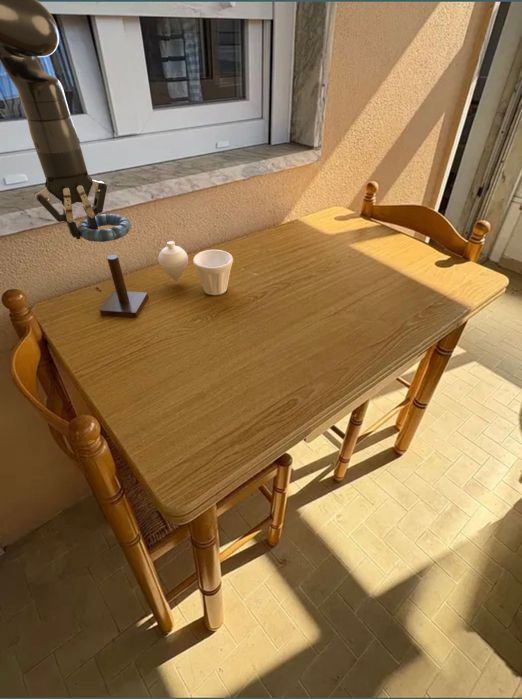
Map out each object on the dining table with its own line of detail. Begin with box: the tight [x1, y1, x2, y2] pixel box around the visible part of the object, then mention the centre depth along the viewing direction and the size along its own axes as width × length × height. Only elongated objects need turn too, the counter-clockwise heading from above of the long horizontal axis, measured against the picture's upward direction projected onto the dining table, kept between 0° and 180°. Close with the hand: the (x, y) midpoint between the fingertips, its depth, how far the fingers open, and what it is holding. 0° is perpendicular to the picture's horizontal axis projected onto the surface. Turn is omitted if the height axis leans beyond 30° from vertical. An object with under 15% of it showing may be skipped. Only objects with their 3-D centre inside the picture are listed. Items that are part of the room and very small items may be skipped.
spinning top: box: [157, 240, 189, 285], centre depth 100 cm, size 8×8×12 cm
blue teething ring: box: [76, 213, 132, 243], centre depth 82 cm, size 11×11×2 cm
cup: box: [192, 249, 234, 297], centre depth 99 cm, size 10×10×9 cm
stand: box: [98, 254, 149, 319], centre depth 91 cm, size 9×9×14 cm
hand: (85, 235), depth 80 cm, fingers closed on blue teething ring, 2 cm apart
